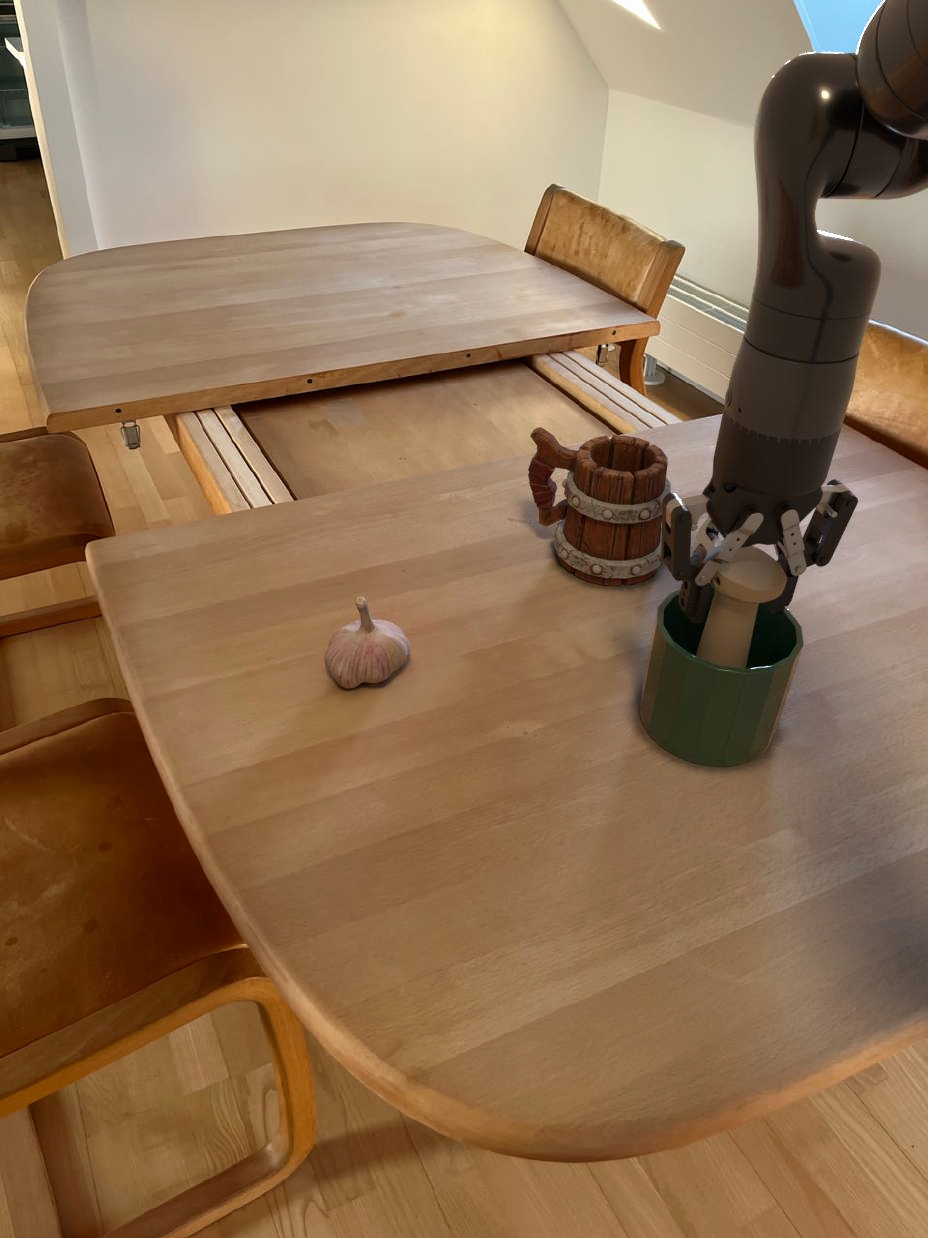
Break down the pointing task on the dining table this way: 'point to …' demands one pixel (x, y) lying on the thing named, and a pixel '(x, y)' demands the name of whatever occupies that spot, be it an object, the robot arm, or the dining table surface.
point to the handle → (738, 605)
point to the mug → (603, 505)
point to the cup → (717, 687)
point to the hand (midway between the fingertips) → (732, 611)
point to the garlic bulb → (366, 650)
